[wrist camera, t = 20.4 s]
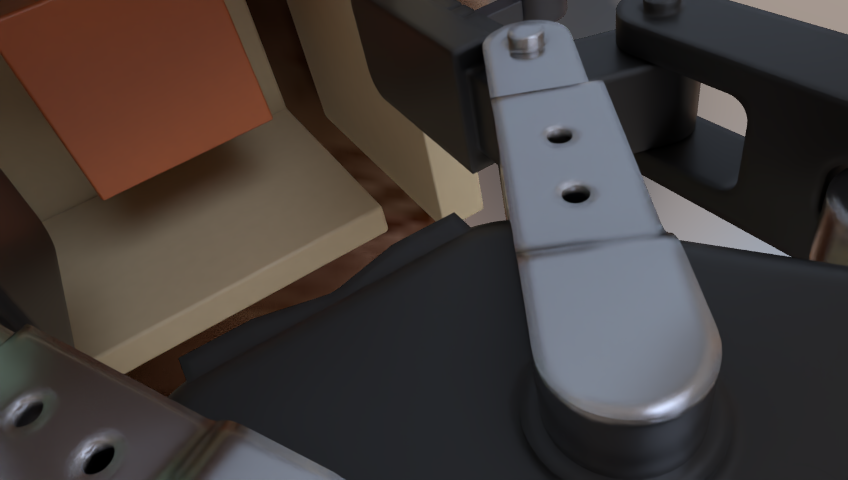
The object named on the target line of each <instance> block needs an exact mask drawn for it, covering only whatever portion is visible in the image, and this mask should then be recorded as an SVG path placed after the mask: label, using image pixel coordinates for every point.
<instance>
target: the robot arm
mask: <svg viewBox="0 0 848 480" xmlns="http://www.w3.org/2000/svg"><path fill="white" fill-rule="evenodd" d="M351 5H352V10H353V14H354V17H355V21H356V25H357V29H358V32H359V36H360V40H361V44H362V47H363V51H364V55H365V59H366V62H367V66H368V70H369V73H370V76H371V78H372V81H373V83H374V85H375V87H376V88H377V90H378V92H379V93H380V95H381V96H382V97H383V98H384V99H385V100H386V101H387V102H388V103H390V104H391V105H392V106H393V107H394V108H395V109H397V110H398V111H399V112H400V113H401V114H403V115H404V116H405V117H406V118H407V119H408V120H410V121H411V122H412V123H413V124H414V125H415V126H417V127H418V128H419V129H420V130H421V131H423V132H424V133H425V134H426V135H427V136H428V137H430V138H431V139H432V140H433V141H434V142H436V143H437V144H438V145H439V146H440V147H441V148H443V149H444V150H445V151H446V152H447V153H449V154H450V155H451V156H452V157H453V158H454V159H456V160H457V161H458V162H459V163H460V164H462V165H463V166H464V167H465V168H466V169H467V170H469V171H470V172H471V173H472V174H475V173H476V172H478V171H480V170H482V169H484V168H486V167H488V166H490V165H492V164H493V163H496V164H498V167H499V175H500V182H501V189H502V195H503V202H504V208H505V215H506V221H497V222H491V223H487V224H482V225H478V226H474V227H469V226H468V225H467V224H466V223H465V222H464V221H463V220H462V219H461V218H460V217H459V216H458V215H457V214H456V213H455V212H453V213H451V214H450V215H448V216H446V217H444V218H442V219H440V220H438V221H436V222H434V223H433V224H431V225H429V226H427V227H425V228H423V229H421V230H419V231H417V232H416V233H414V234H412V235H410V236H408V237H406V238H404V239H402V240H400V241H399V242H397V243H395V244H393V245H391V246H390V247H389V248H388V249H387V250H385V251H384V252H383V253H382V254H380V255H379V256H378V257H377V258H375V259H374V260H373V261H372V262H371V263H369V264H368V265H367V266H366V267H364V268H363V269H362V270H361V271H359V272H358V273H357V274H356V275H354V276H353V277H352V278H351V279H350V280H348V281H347V282H346V283H345V284H343V285H342V286H341V287H340V288H338V289H337V290H335V291H334V292H332V293H330V294H328V295H325V296H322V297H319V298H316V299H313V300H310V301H306V302H303V303H300V304H297V305H294V306H291V307H288V308H285V309H282V310H279V311H275V312H272V313H269V314H266V315H263V316H260V317H257V318H254V319H251V320H249V321H248V322H246V323H244V324H242V325H240V326H238V327H236V328H234V329H232V330H231V331H229V332H227V333H225V334H223V335H221V336H219V337H217V338H215V339H214V340H212V341H210V342H208V343H206V344H204V345H202V346H200V347H198V348H197V349H195V350H193V351H191V352H189V353H187V354H185V355H183V356H182V357H180V358H179V361H180V364H181V367H182V370H183V372H184V375H185V378H186V381H185V382H184V383H183V384H182V385H181V386H179V387H178V388H177V389H176V390H175V391H174V392H173V393H172V394H170V395H169V396H168V397H166V396H164V395H162V394H160V393H159V392H157V391H155V390H153V389H151V388H149V387H147V386H145V385H143V384H142V383H140V382H138V381H136V380H134V379H132V378H130V377H128V376H126V375H125V374H123V373H121V372H119V371H117V370H115V369H113V368H111V367H109V366H108V365H106V364H104V363H102V362H100V361H98V360H96V359H94V358H92V357H91V356H89V355H87V354H85V353H83V352H81V351H79V350H77V349H75V346H74V340H73V335H72V330H71V325H70V320H69V315H68V310H67V305H66V300H65V295H64V290H63V284H62V279H61V274H60V269H59V264H58V259H57V254H56V249H55V246H54V244H53V241H52V239H51V237H50V235H49V233H48V231H47V230H46V228H45V226H44V225H43V223H42V222H41V220H40V219H39V218H38V216H37V215H36V214H35V212H34V211H33V210H32V208H31V207H30V206H29V204H28V203H27V202H26V201H25V199H24V198H23V197H22V195H21V194H20V193H19V192H18V190H17V189H16V188H15V186H14V185H13V184H12V182H11V181H10V180H9V179H8V177H7V176H6V175H5V173H4V172H3V171H2V170H1V168H0V480H848V34H844V33H841V32H837V31H834V30H830V29H827V28H823V27H820V26H817V25H813V24H809V23H806V22H802V21H799V20H796V19H792V18H788V17H785V16H782V15H778V14H775V13H772V12H768V11H765V10H761V9H758V8H754V7H751V6H747V5H744V4H740V3H737V2H733V1H730V0H621V1H620V2H619V3H618V5H617V8H616V29H615V30H611V31H608V32H603V33H599V34H596V35H592V36H588V37H584V38H580V39H575V40H573V38H572V35H571V33H570V31H569V30H568V29H567V28H566V27H565V26H563V25H562V24H559V23H556V22H552V21H547V20H527V21H520V22H516V23H512V24H509V25H506V26H504V25H502V24H500V23H498V22H496V21H494V20H492V19H490V18H488V17H487V16H485V15H483V14H481V13H479V12H474V10H473V9H471V8H470V7H468V6H466V5H461V3H460V2H458V1H456V0H351ZM701 83H703V84H706V85H708V86H711V87H713V88H716V89H718V90H721V91H723V92H726V93H728V94H730V95H732V96H734V97H735V98H736V99H737V100H738V101H739V102H740V103H741V104H742V106H743V107H744V109H745V111H746V114H747V120H748V121H747V129H746V136H745V137H744V136H742V135H740V134H737V133H735V132H733V131H730V130H728V129H726V128H723V127H721V126H719V125H717V124H715V123H712V122H710V121H708V120H706V119H703V118H701V117H699V116H697V110H698V101H699V92H700V84H701ZM641 174H642V175H643V176H645V177H647V178H649V179H651V180H653V181H654V182H656V183H658V184H660V185H662V186H664V187H665V188H667V189H669V190H671V191H673V192H674V193H676V194H678V195H680V196H682V197H684V198H685V199H687V200H689V201H691V202H693V203H694V204H696V205H698V206H700V207H702V208H704V209H705V210H707V211H709V212H711V213H713V214H715V215H716V216H718V217H720V218H722V219H724V220H725V221H727V222H729V223H731V224H733V225H735V226H737V227H738V228H740V229H742V230H744V231H745V232H747V233H749V234H751V235H753V236H755V237H756V238H758V239H760V240H762V241H764V242H766V243H767V244H769V245H771V246H773V247H775V248H776V249H778V250H780V251H782V252H784V253H786V254H787V255H789V256H791V257H787V256H780V255H773V254H767V253H760V252H753V251H747V250H741V249H734V248H728V247H721V246H714V245H707V244H701V243H695V242H688V241H682V240H679V239H678V238H677V237H676V236H675V235H674V234H673V233H668V232H666V231H665V230H664V228H663V226H662V224H661V222H660V220H659V217H658V214H657V212H656V209H655V207H654V205H653V202H652V200H651V197H650V195H649V192H648V190H647V187H646V185H645V183H644V180H643V177H642V175H641Z"/></svg>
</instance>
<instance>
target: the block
mask: <svg viewBox="0 0 848 480" xmlns="http://www.w3.org/2000/svg"><path fill="white" fill-rule="evenodd" d="M0 55H1V56H2V57H3V59H4V60H5V62H6V63H7V65H8V66H9V68H10V69H11V70H12V72H13V73H14V75H15V76H16V78H17V79H18V80H19V82H20V83H21V85H22V86H23V88H24V89H25V90H26V92H27V93H28V95H29V96H30V98H31V99H32V101H33V102H34V103H35V105H36V106H37V108H38V109H39V111H40V112H41V113H42V115H43V116H44V118H45V119H46V121H47V122H48V123H49V125H50V126H51V128H52V129H53V131H54V132H55V134H56V135H57V136H58V138H59V139H60V141H61V142H62V144H63V145H64V146H65V148H66V149H67V151H68V152H69V154H70V155H71V157H72V158H73V159H74V161H75V162H76V164H77V165H78V167H79V168H80V169H81V171H82V172H83V174H84V175H85V177H86V178H87V179H88V181H89V182H90V184H91V185H92V187H93V188H94V190H95V191H96V192H97V194H98V195H99V197H100V198H101V199H102V200H107V199H109V198H111V197H113V196H115V195H117V194H119V193H121V192H123V191H125V190H128V189H130V188H132V187H134V186H136V185H138V184H140V183H142V182H144V181H146V180H148V179H150V178H153V177H155V176H157V175H159V174H161V173H163V172H165V171H167V170H169V169H171V168H173V167H175V166H177V165H180V164H182V163H184V162H186V161H188V160H190V159H192V158H194V157H196V156H198V155H200V154H202V153H204V152H207V151H209V150H211V149H213V148H215V147H217V146H219V145H221V144H223V143H225V142H227V141H229V140H231V139H234V138H236V137H238V136H240V135H242V134H244V133H246V132H248V131H250V130H252V129H254V128H256V127H258V126H261V125H263V124H265V123H267V122H269V121H271V120H272V119H273V116H272V114H271V111H270V109H269V107H268V104H267V102H266V99H265V97H264V95H263V92H262V90H261V87H260V85H259V83H258V80H257V78H256V75H255V73H254V71H253V68H252V66H251V63H250V61H249V59H248V56H247V54H246V51H245V49H244V47H243V44H242V42H241V39H240V37H239V35H238V32H237V30H236V28H235V25H234V23H233V20H232V18H231V16H230V13H229V11H228V8H227V6H226V4H225V1H224V0H0Z"/></svg>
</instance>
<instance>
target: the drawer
mask: <svg viewBox="0 0 848 480" xmlns="http://www.w3.org/2000/svg"><path fill="white" fill-rule="evenodd" d="M224 1H225V4H226V6H227V8H228V11H229V13H230V16H231V18H232V20H233V23H234V25H235V28H236V30H237V32H238V35H239V37H240V39H241V42H242V44H243V47H244V49H245V51H246V54H247V56H248V59H249V61H250V63H251V66H252V68H253V71H254V73H255V75H256V78H257V80H258V83H259V85H260V87H261V90H262V92H263V95H264V97H265V99H266V102H267V104H268V107H269V109H270V111H271V114H272V116H273V119H272V120H271V121H269V122H267V123H265V124H263V125H261V126H258V127H256V128H254V129H252V130H250V131H248V132H246V133H244V134H242V135H240V136H238V137H236V138H234V139H231V140H229V141H227V142H225V143H223V144H221V145H219V146H217V147H215V148H213V149H211V150H209V151H207V152H204V153H202V154H200V155H198V156H196V157H194V158H192V159H190V160H188V161H186V162H184V163H182V164H180V165H177V166H175V167H173V168H171V169H169V170H167V171H165V172H163V173H161V174H159V175H157V176H155V177H153V178H150V179H148V180H146V181H144V182H142V183H140V184H138V185H136V186H134V187H132V188H130V189H128V190H125V191H123V192H121V193H119V194H117V195H115V196H113V197H111V198H109V199H107V200H102V199H101V198H100V197H99V195H98V194H97V192H96V191H95V190H94V188H93V187H92V185H91V184H90V182H89V181H88V179H87V178H86V177H85V175H84V174H83V172H82V171H81V169H80V168H79V167H78V165H77V164H76V162H75V161H74V159H73V158H72V157H71V155H70V154H69V152H68V151H67V149H66V148H65V146H64V145H63V144H62V142H61V141H60V139H59V138H58V136H57V135H56V134H55V132H54V131H53V129H52V128H51V126H50V125H49V123H48V122H47V121H46V119H45V118H44V116H43V115H42V113H41V112H40V111H39V109H38V108H37V106H36V105H35V103H34V102H33V101H32V99H31V98H30V96H29V95H28V93H27V92H26V90H25V89H24V88H23V86H22V85H21V83H20V82H19V80H18V79H17V78H16V76H15V75H14V73H13V72H12V70H11V69H10V68H9V66H8V65H7V63H6V62H5V60H4V59H3V57H2V56H1V55H0V168H1V170H2V171H3V172H4V173H5V175H6V176H7V177H8V179H9V180H10V181H11V182H12V184H13V185H14V186H15V188H16V189H17V190H18V192H19V193H20V194H21V195H22V197H23V198H24V199H25V201H26V202H27V203H28V204H29V206H30V207H31V208H32V210H33V211H34V212H35V214H36V215H37V216H38V218H39V219H40V220H41V222H42V223H43V225H44V226H45V228H46V230H47V231H48V233H49V235H50V237H51V239H52V241H53V244H54V246H55V249H56V254H57V259H58V264H59V269H60V274H61V279H62V284H63V290H64V295H65V300H66V305H67V310H68V315H69V320H70V325H71V330H72V335H73V340H74V346H75V349H77V350H79V351H81V352H83V353H85V354H87V355H89V356H91V357H92V358H94V359H96V360H98V361H100V362H102V363H104V364H106V365H108V366H109V367H111V368H113V369H115V370H117V371H119V372H121V373H123V374H125V373H127V372H129V371H131V370H133V369H135V368H136V367H138V366H140V365H142V364H144V363H146V362H147V361H149V360H151V359H153V358H155V357H157V356H159V355H160V354H162V353H164V352H166V351H168V350H170V349H171V348H173V347H175V346H177V345H179V344H181V343H182V342H184V341H186V340H188V339H190V338H192V337H193V336H195V335H197V334H199V333H201V332H203V331H204V330H206V329H208V328H210V327H212V326H214V325H215V324H217V323H219V322H221V321H223V320H225V319H226V318H228V317H230V316H232V315H234V314H236V313H237V312H239V311H241V310H243V309H245V308H247V307H248V306H250V305H252V304H254V303H256V302H258V301H259V300H261V299H263V298H265V297H267V296H269V295H270V294H272V293H274V292H276V291H278V290H280V289H282V288H283V287H285V286H287V285H289V284H291V283H293V282H294V281H296V280H298V279H300V278H302V277H304V276H305V275H307V274H309V273H311V272H313V271H315V270H316V269H318V268H320V267H322V266H324V265H326V264H327V263H329V262H331V261H333V260H335V259H337V258H338V257H340V256H342V255H344V254H346V253H348V252H349V251H351V250H353V249H355V248H357V247H359V246H360V245H362V244H364V243H366V242H368V241H370V240H371V239H373V238H375V237H377V236H379V235H381V234H382V233H384V232H386V231H387V230H388V226H387V223H386V220H385V216H384V213H383V210H382V207H381V206H380V205H379V204H378V203H377V202H376V201H375V200H374V198H373V197H372V196H371V195H370V194H369V193H368V192H367V191H366V190H365V189H364V188H363V187H362V186H361V185H360V184H359V183H358V182H357V181H356V180H355V179H354V178H353V177H352V176H351V175H350V174H349V173H348V172H347V171H346V169H345V168H344V167H343V166H342V165H341V164H340V163H339V162H338V161H337V160H336V159H335V158H334V157H333V156H332V155H331V154H330V153H329V152H328V151H327V150H326V149H325V148H324V147H323V146H322V145H321V144H320V143H319V142H318V140H317V139H316V138H315V137H314V136H313V135H312V134H311V133H310V132H309V131H308V130H307V129H306V128H305V127H304V126H303V125H302V124H301V123H300V122H299V121H298V120H297V119H296V118H295V117H294V116H293V115H292V114H291V113H290V111H289V110H288V109H287V108H286V106H285V103H284V100H283V98H282V95H281V92H280V90H279V87H278V84H277V82H276V79H275V77H274V74H273V71H272V69H271V66H270V63H269V61H268V58H267V56H266V53H265V50H264V48H263V45H262V42H261V40H260V37H259V35H258V32H257V29H256V27H255V24H254V21H253V19H252V16H251V14H250V11H249V8H248V6H247V3H246V0H224ZM286 1H287V4H288V7H289V10H290V12H291V15H292V18H293V21H294V24H295V27H296V30H297V33H298V36H299V39H300V42H301V45H302V48H303V51H304V54H305V57H306V60H307V63H308V66H309V69H310V72H311V75H312V78H313V81H314V84H315V87H316V90H317V93H318V96H319V98H320V101H321V104H322V107H323V110H324V113H325V116H326V117H327V118H328V119H329V120H330V121H331V122H332V123H333V124H334V125H335V126H336V127H337V128H339V129H340V130H341V131H342V132H343V133H344V134H345V135H346V136H347V137H348V138H349V139H350V140H351V141H352V142H353V143H354V144H355V145H356V146H357V147H358V148H360V149H361V150H362V151H363V152H364V153H365V154H366V155H367V156H368V157H369V158H370V159H371V160H372V161H373V162H374V163H375V164H376V165H377V166H378V167H379V168H381V169H382V170H383V171H384V172H385V173H386V174H387V175H388V176H389V177H390V178H391V179H392V180H393V181H394V182H395V183H396V184H397V185H398V186H399V187H400V188H401V189H403V190H404V191H405V192H406V193H407V194H408V195H409V196H410V197H411V198H412V199H413V200H414V201H415V202H416V203H417V204H418V205H419V206H420V207H421V208H422V209H424V210H425V211H426V212H427V213H428V214H429V215H430V216H431V217H432V218H433V219H434V220H435V221H438V220H440V219H442V218H444V217H446V216H448V215H450V214H451V213H453V212H455V213H456V214H457V215H458V216H459V217H460V218H461V219H462V220H464V219H466V218H468V217H469V216H471V215H473V214H475V213H477V212H479V211H480V210H482V209H483V202H482V195H481V190H480V183H479V177H478V172H476V173H475V174H472V173H471V172H470V171H469V170H467V169H466V168H465V167H464V166H463V165H462V164H460V163H459V162H458V161H457V160H456V159H454V158H453V157H452V156H451V155H450V154H449V153H447V152H446V151H445V150H444V149H443V148H441V147H440V146H439V145H438V144H437V143H436V142H434V141H433V140H432V139H431V138H430V137H428V136H427V135H426V134H425V133H424V132H423V131H421V130H420V129H419V128H418V127H417V126H415V125H414V124H413V123H412V122H411V121H410V120H408V119H407V118H406V117H405V116H404V115H403V114H401V113H400V112H399V111H398V110H397V109H395V108H394V107H393V106H392V105H391V104H390V103H388V102H387V101H386V100H385V99H384V98H383V97H382V96H381V95H380V93H379V92H378V90H377V88H376V87H375V85H374V83H373V81H372V78H371V76H370V73H369V70H368V66H367V62H366V59H365V55H364V51H363V47H362V44H361V40H360V36H359V32H358V29H357V25H356V21H355V17H354V14H353V10H352V5H351V0H286ZM566 11H567V0H497V1H495V2H492V3H490V4H488V5H486V6H484V7H481V8H479V9H477V10H475V11H474V12H479V13H481V14H483V15H485V16H487V17H488V18H490V19H492V20H494V21H496V22H498V23H500V24H502V25H504V26H506V25H509V24H512V23H516V22H520V21H527V20H547V21H552V22H555V21H557V20H559V19H561V18H562V17H563V16H564V15H565V14H566Z"/></svg>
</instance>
